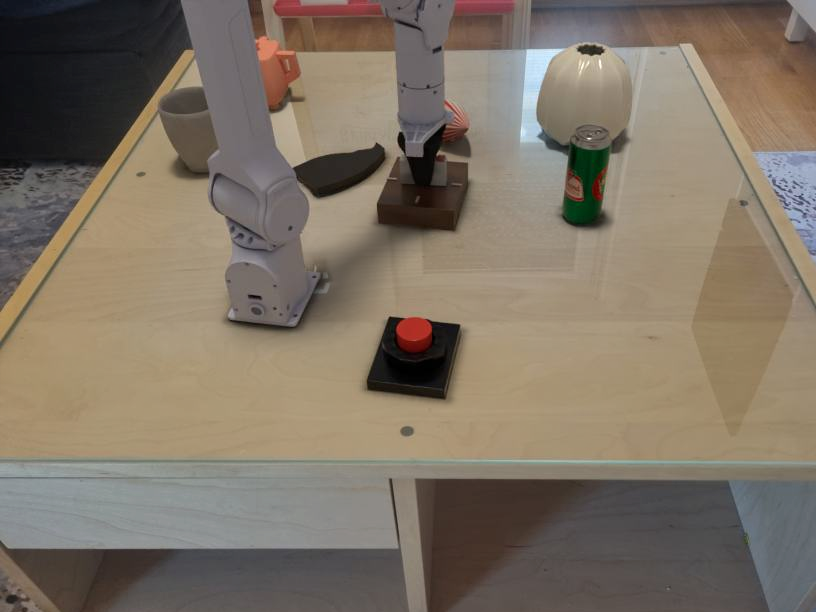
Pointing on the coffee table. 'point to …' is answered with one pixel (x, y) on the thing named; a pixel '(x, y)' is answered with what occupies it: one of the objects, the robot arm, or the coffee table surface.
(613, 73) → the vase
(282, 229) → the robot arm
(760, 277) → the coffee table surface
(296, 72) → the teapot
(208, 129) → the mug
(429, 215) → the dial panel
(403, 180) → the dial knob
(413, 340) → the button
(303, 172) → the fan shaped piece
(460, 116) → the ice cream cone
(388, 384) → the button block
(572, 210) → the soda can
